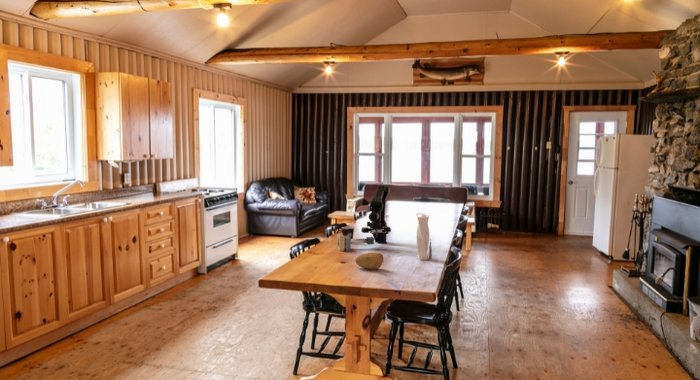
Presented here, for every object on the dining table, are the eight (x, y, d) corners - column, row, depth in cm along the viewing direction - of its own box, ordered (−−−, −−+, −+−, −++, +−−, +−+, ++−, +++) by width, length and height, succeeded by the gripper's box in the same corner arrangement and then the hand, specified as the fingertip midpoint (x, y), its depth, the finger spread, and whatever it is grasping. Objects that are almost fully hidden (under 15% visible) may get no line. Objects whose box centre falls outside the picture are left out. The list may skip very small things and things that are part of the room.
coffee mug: (354, 240, 329) (354, 226, 328) (353, 243, 321) (353, 229, 320) (338, 240, 331) (338, 226, 330) (336, 242, 322) (336, 228, 321)
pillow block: (347, 247, 307) (347, 235, 306) (350, 250, 298) (350, 238, 298) (342, 247, 306) (343, 235, 306) (346, 250, 298) (346, 238, 297)
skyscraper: (419, 261, 272) (419, 214, 270) (413, 258, 280) (414, 212, 277) (432, 260, 275) (433, 213, 272) (426, 257, 282) (427, 211, 280)
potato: (358, 265, 262) (358, 249, 261) (385, 268, 256) (385, 251, 255) (353, 269, 253) (353, 252, 253) (380, 272, 248) (381, 255, 247)
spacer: (341, 248, 306) (341, 233, 305) (344, 250, 298) (344, 236, 297) (337, 248, 305) (337, 234, 304) (339, 251, 297) (339, 236, 296)
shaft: (372, 242, 308) (372, 236, 308) (373, 244, 304) (373, 238, 304) (338, 244, 303) (338, 238, 303) (340, 245, 299) (340, 239, 299)
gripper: (385, 216, 315) (385, 239, 317) (359, 217, 311) (359, 240, 312) (391, 219, 304) (391, 242, 306) (363, 220, 300) (363, 244, 301)
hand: (376, 242), depth 307 cm, fingers closed
